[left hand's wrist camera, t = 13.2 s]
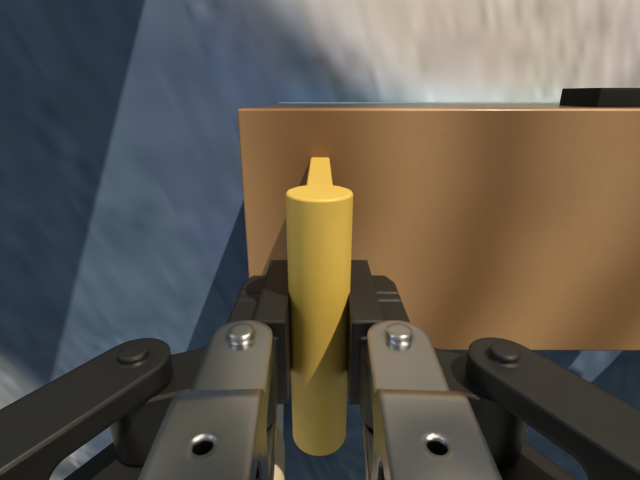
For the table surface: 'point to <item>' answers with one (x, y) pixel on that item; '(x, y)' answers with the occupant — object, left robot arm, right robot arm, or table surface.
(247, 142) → the lid
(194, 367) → the left robot arm
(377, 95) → the table surface
